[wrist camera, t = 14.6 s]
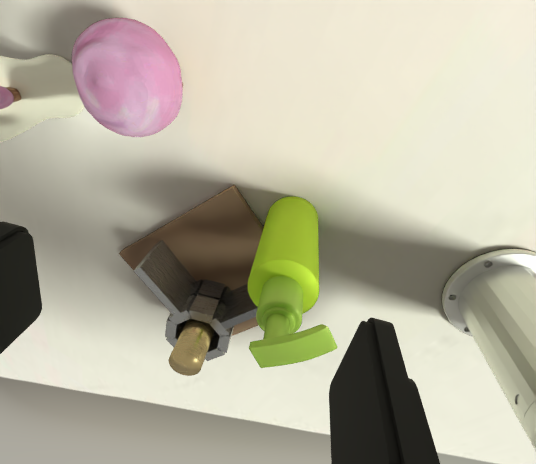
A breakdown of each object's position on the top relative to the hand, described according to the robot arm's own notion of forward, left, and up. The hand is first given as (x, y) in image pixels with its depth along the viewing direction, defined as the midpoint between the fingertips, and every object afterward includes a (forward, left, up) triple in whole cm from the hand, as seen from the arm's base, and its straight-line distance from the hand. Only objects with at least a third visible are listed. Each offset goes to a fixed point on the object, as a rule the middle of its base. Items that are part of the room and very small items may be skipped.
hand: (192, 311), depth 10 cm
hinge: (-12, +16, -27) cm, 34 cm away
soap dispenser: (-10, +4, -28) cm, 30 cm away
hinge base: (-12, +17, -28) cm, 35 cm away
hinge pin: (-15, +20, -27) cm, 37 cm away
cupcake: (+10, +8, -28) cm, 31 cm away
